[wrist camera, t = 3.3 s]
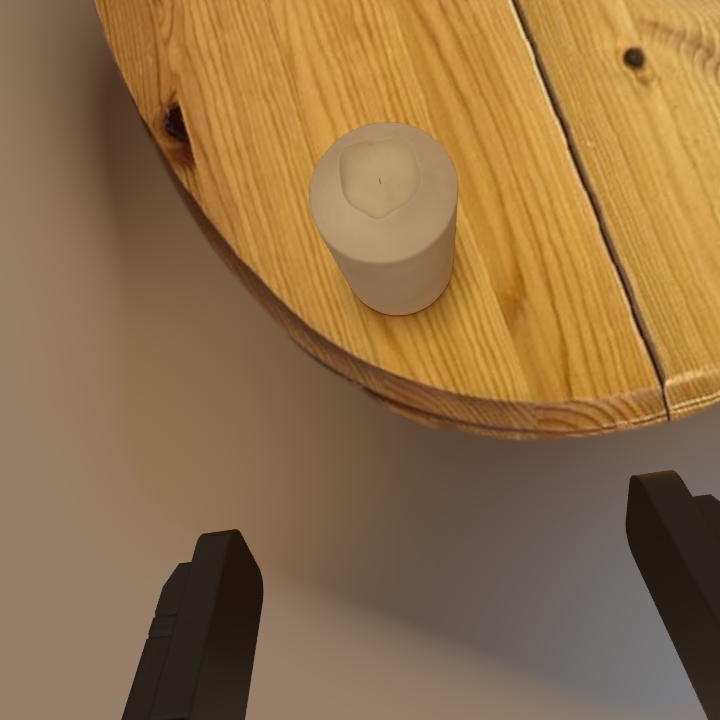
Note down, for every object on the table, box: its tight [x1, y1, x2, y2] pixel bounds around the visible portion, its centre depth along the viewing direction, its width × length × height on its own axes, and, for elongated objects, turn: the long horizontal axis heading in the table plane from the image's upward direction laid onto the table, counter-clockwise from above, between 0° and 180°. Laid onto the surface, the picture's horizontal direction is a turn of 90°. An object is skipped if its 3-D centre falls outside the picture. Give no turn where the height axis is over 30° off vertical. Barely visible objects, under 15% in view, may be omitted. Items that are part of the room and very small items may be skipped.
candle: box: [309, 122, 458, 315], centre depth 24 cm, size 6×6×10 cm
